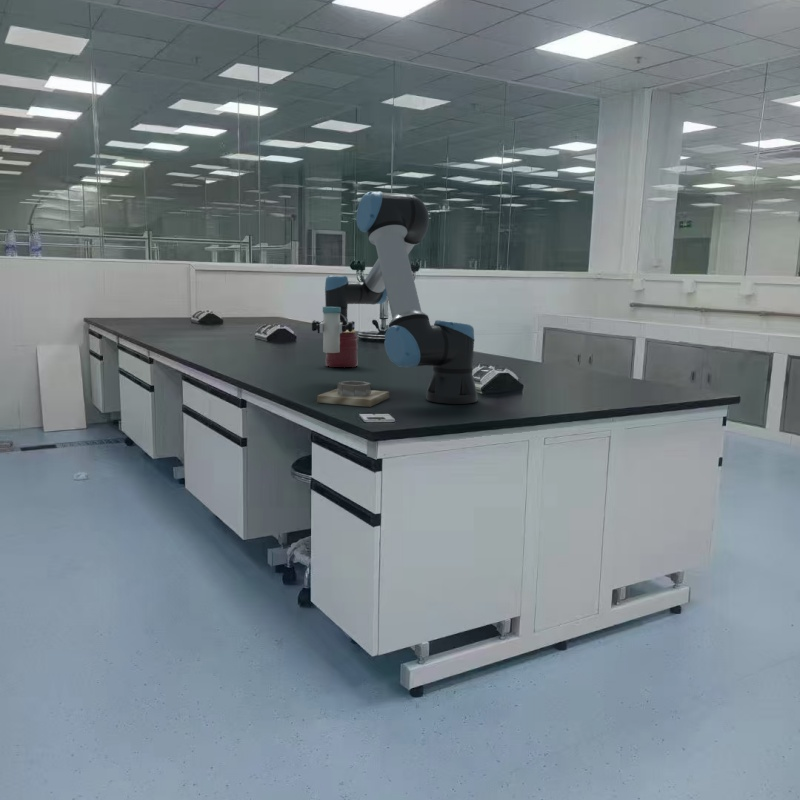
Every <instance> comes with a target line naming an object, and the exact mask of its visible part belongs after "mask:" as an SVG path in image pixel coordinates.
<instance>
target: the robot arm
mask: <svg viewBox="0 0 800 800" xmlns="http://www.w3.org/2000/svg"><path fill="white" fill-rule="evenodd" d="M429 215H430V214H429V211H428V208H427V206H426V205H425V203H424V202H423V200H421V199H420V198H419V197H417V196H415V195H412V194H408V193H407V194H403V193H402V194H401V193H391V192H382V191H380V190H378V191H368V192H366V193H364V195H363V196H362V197H361V199H360V201H359V203H358V206H357V211H356V225H357V229H359V231H360V232H362V233H367V236H368V237H367V238H368V242H369V243H370V244H372V245H373V246H375V249H376V253H377V257H378V258H377V260H376V261H375V263H374V264H373V266H372V268H371V269H370V271H369V272H368V274H367V276H366V277H365V279H364V280H363V281H349V279H348V276H346V275H328V276H327V277H326V278H325V284H324V285H325V286H324V293H325V294H324V296H325V299H324V300H325V306H324V307H341V313H340V323H339V333H340V334H342V333H343V332H345V331H346V330H348V331H349V332H351V331H352V330H355V326H356V325H355V322H356V321H353V320H352V321H349V320H348V319H349V318H348V305H380V304H384V303H385V302H386V300H387V301H388V305H389V311H390V314H391V318H392V319H391V320H390V322H388V323H389V324H388V329H386V332H385V334H384V339H385V340H384V350H385V353H386V355H387V357H388V359H389V360H390V361H391V362H392V363H393V364H394V365H395V366H396V367H400V368H410V369H411V368H412V369H413V368H418V367H421V368H422V367H432V376H431V379H430V381H429V384H428V386H427V389H426V394H425V395H426V397H425V399H426V400H427V401H429V402H433V403H436V404H437V403H438V404H446V405H447V404H449V405H467V404H472V403H473V404H474V403H476V402H478V391H477V386H476V382H475V380H474V376H473V370H474V369H473V367H474V366H473V365H474V364H473V363H474V347H475V339H476V338H475V330H474V327H473V326H472V325H471V324H468V323H462V322H454V321H449V320H447V321H446V320H440V319H439V320H438V319H437V320H435V321H434V323H433V324H431V322H430V318H429V315H428V314H426V313H425V312H423V311H422V308H421V304H420V300H419V296H418V292H417V288H416V283H415V279H414V276H413V275H414V274H413V271H412V267H411V262H410V259H409V255H410V252H411V251H412V250H413V248H414V247H415V246H416V245H419V244H420V243H422V241H423V240H424V238H425V236H426V235H427V233H428V229H429V224H430V216H429ZM311 331H313V332H315V331H317V334H323V320H322V321H321V322H320V321H319V320H312V321H311Z"/></svg>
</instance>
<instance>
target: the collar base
mask: <svg viewBox="0 0 800 800" xmlns="http://www.w3.org/2000/svg"><path fill="white" fill-rule="evenodd" d="M371 385H372V384H371V383H370V382H367V381H359V380H346V381H345V380H343V381H340V382H337V388H335V389H331V390H329V391H326V392H322V393H321V394H317V395H316V396H317V400H316V403H320V404H321V403H322V404H331V405H332V404H333V405H344V406H357V407H368V408H369V407H370V408H371V407H373V406H375V405H377V404H379V403H383V402H384V401H387V400H389V399H390V391H387V390H375V389H374V390H371V389H372V387H371Z"/></svg>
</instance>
